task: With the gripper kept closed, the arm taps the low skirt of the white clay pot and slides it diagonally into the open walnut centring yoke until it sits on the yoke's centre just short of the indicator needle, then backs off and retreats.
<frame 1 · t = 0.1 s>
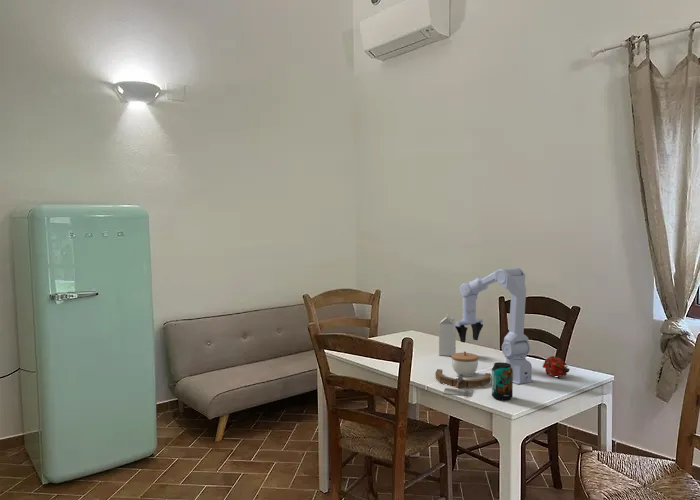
hand: (469, 341, 230), 10 cm above the table, fingers open, 7 cm apart
dragon fruit: (556, 376, 211), on the table
beverage can: (502, 398, 185), on the table
lidded jar: (464, 374, 214), on the table
yoke: (462, 379, 207), on the table
milk carton: (447, 354, 247), on the table
indicator: (459, 380, 194), point 3 cm above the table, hinge at 0.0°
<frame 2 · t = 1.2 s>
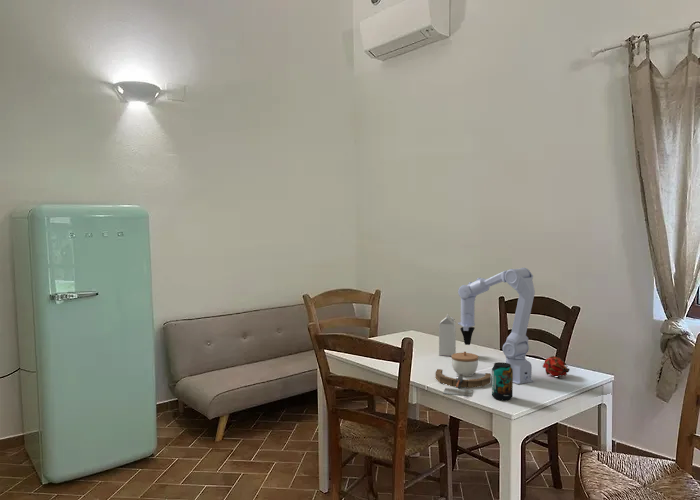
hand: (467, 344, 223), 10 cm above the table, fingers closed
nothing on the table moved.
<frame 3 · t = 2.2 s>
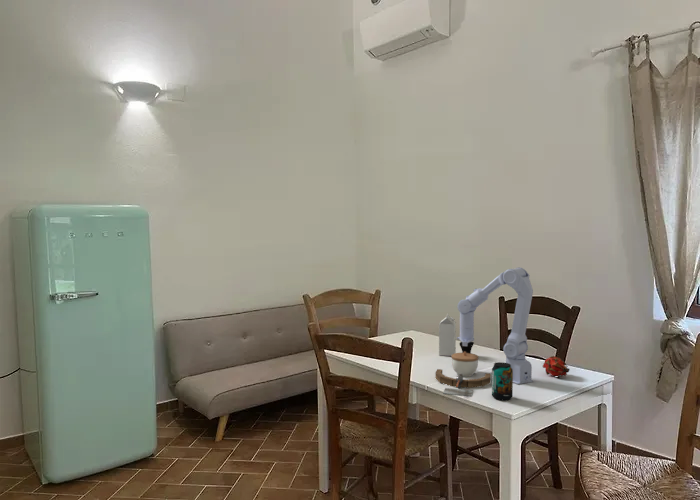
hand: (466, 359, 220), 4 cm above the table, fingers closed
lidded jar: (464, 374, 214), on the table, touching gripper
everything else where it was.
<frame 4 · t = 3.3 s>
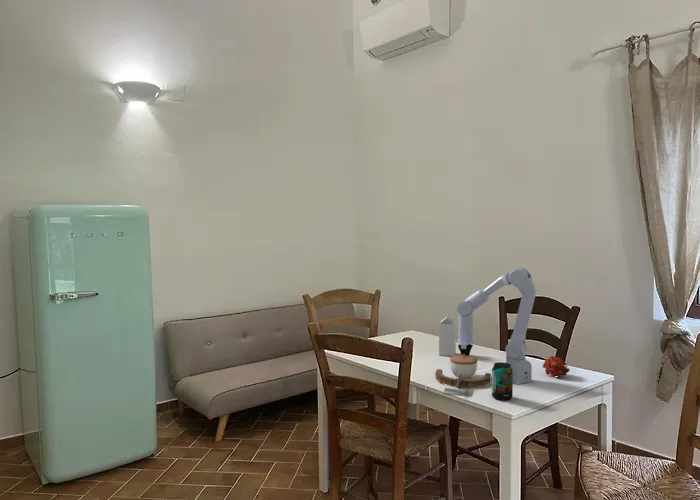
hand: (465, 362, 215), 4 cm above the table, fingers closed
lidded jar: (463, 377, 209), on the table, touching gripper
everything else where it was.
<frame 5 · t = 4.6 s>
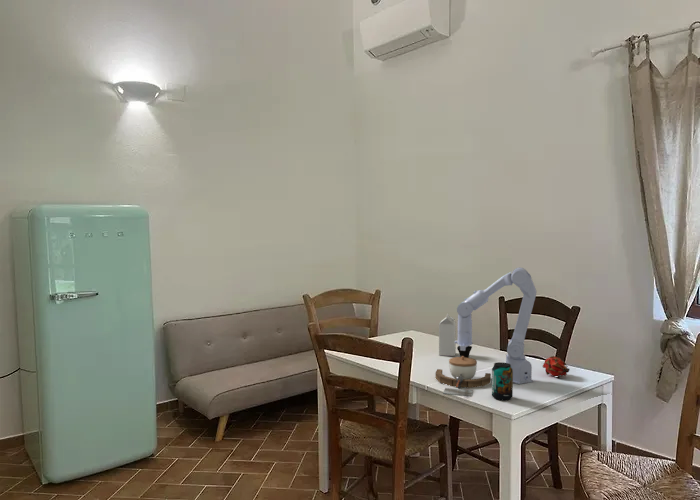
hand: (464, 364, 213), 4 cm above the table, fingers closed
lidded jar: (462, 380, 206), on the table, touching gripper
everything else where it was.
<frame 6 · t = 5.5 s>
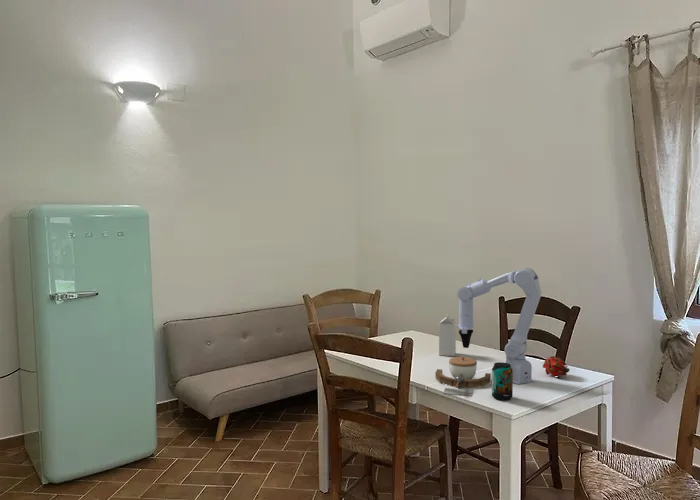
hand: (466, 347, 217), 10 cm above the table, fingers closed
lidded jar: (462, 380, 206), on the table
everything else where it was.
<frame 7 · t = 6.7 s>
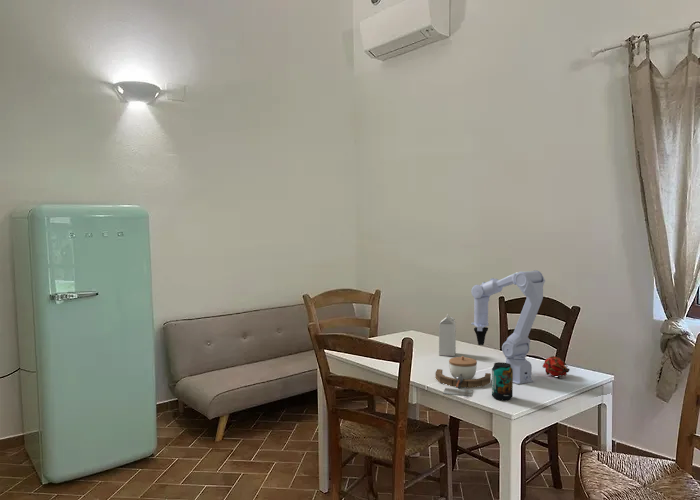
hand: (480, 344, 221), 10 cm above the table, fingers closed
nothing on the table moved.
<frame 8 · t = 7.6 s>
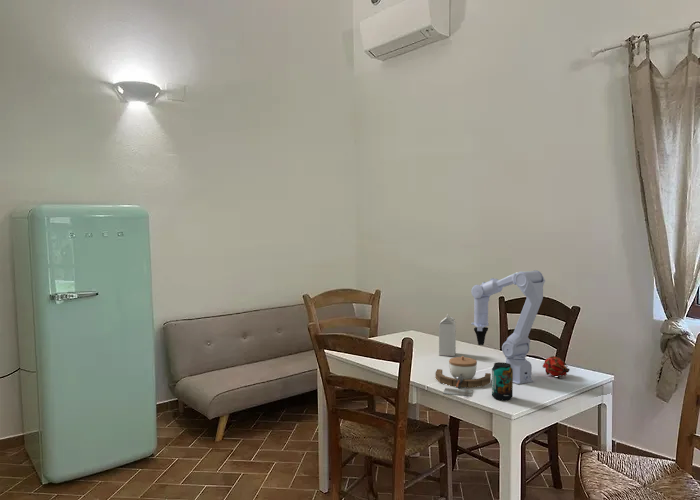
hand: (480, 344, 221), 10 cm above the table, fingers closed
nothing on the table moved.
at the end: lidded jar 0.6 cm from the yoke (horizontally); lidded jar tilted 0° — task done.
